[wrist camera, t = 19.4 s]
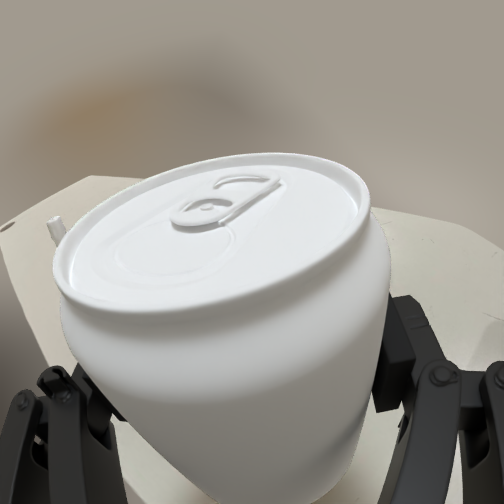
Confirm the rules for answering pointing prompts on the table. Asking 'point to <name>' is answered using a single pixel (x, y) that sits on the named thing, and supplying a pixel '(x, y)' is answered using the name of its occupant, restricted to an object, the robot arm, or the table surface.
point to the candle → (56, 229)
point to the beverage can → (234, 318)
